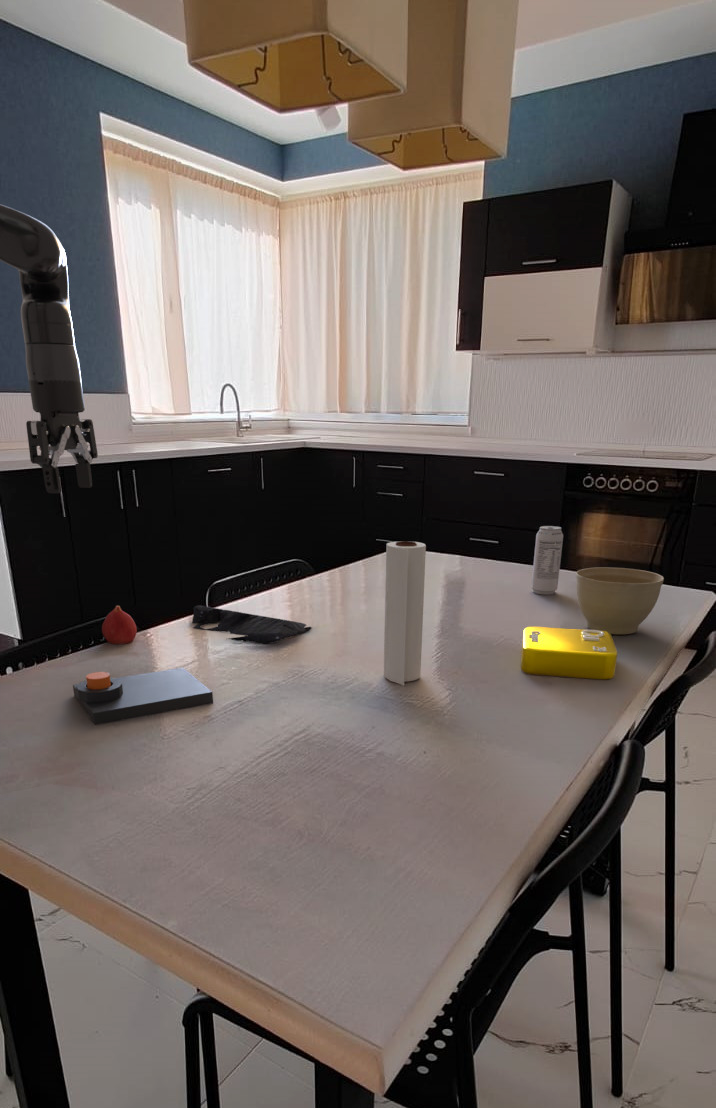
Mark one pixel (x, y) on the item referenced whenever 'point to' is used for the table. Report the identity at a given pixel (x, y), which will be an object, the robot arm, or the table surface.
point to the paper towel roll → (404, 610)
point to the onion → (119, 627)
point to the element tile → (568, 653)
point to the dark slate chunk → (247, 625)
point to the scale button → (98, 680)
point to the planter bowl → (617, 597)
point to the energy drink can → (547, 560)
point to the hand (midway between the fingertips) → (70, 490)
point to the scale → (142, 695)
